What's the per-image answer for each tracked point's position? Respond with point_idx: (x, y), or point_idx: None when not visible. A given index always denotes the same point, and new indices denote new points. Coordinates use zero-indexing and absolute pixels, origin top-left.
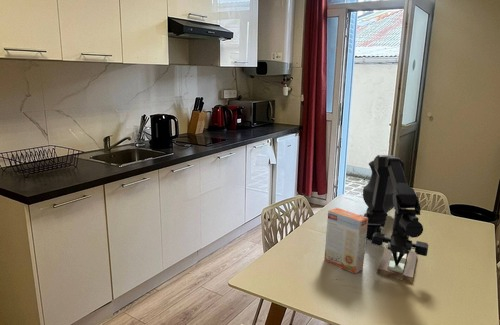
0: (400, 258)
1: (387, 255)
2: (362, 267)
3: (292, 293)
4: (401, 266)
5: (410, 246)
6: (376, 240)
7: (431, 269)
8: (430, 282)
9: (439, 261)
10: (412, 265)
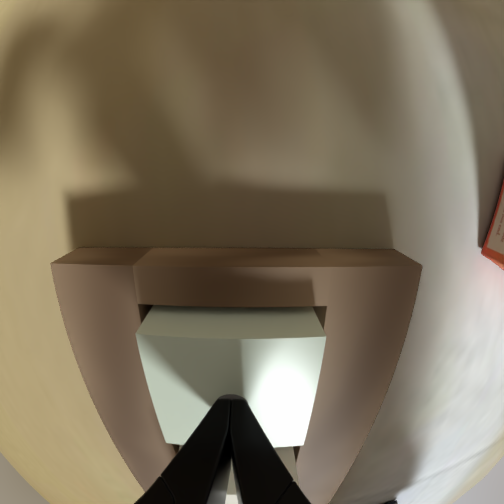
0: (170, 480)
1: (316, 480)
2: (494, 248)
3: None
4: (174, 396)
5: None
6: None
7: (73, 439)
8: (12, 312)
9: (88, 482)
10: (128, 444)
